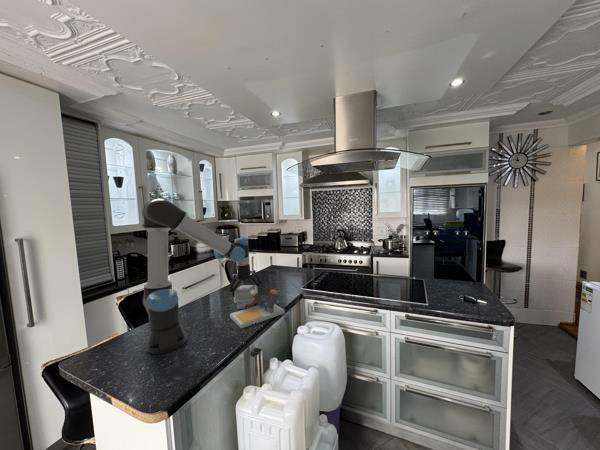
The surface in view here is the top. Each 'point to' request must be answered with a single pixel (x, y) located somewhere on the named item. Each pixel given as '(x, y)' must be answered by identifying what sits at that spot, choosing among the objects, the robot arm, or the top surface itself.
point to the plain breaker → (256, 297)
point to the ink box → (244, 297)
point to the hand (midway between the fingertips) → (246, 298)
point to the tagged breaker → (271, 299)
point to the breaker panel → (255, 315)
